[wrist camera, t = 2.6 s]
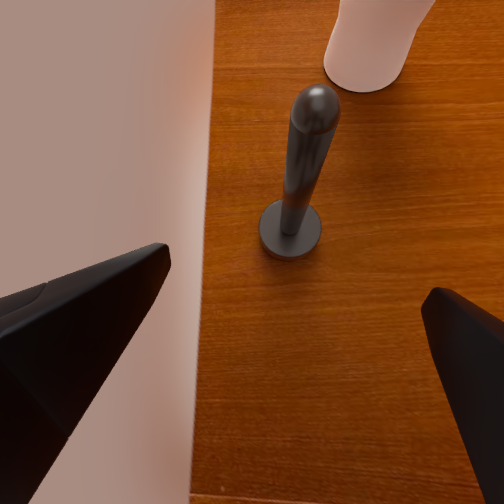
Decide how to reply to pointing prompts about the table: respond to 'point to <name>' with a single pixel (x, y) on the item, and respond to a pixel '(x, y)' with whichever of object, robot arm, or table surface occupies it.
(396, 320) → the table surface
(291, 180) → the joystick
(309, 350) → the table surface
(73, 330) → the robot arm
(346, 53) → the cup
